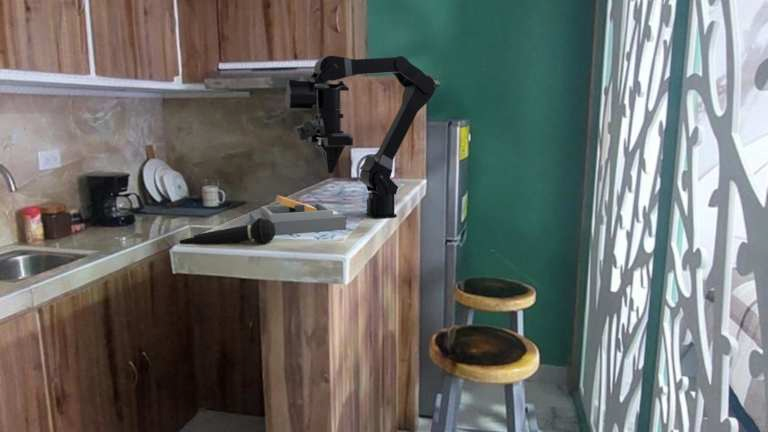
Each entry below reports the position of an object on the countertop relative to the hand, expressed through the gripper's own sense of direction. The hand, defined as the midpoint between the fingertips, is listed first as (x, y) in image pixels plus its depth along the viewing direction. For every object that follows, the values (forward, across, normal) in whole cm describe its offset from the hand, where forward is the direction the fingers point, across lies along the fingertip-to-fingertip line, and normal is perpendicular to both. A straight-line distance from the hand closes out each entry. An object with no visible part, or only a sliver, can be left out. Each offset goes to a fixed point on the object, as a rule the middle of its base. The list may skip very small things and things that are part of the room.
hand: (330, 173), depth 131 cm
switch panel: (+12, +5, -10) cm, 16 cm away
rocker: (+7, +5, -10) cm, 13 cm away
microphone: (+12, +15, -26) cm, 33 cm away
